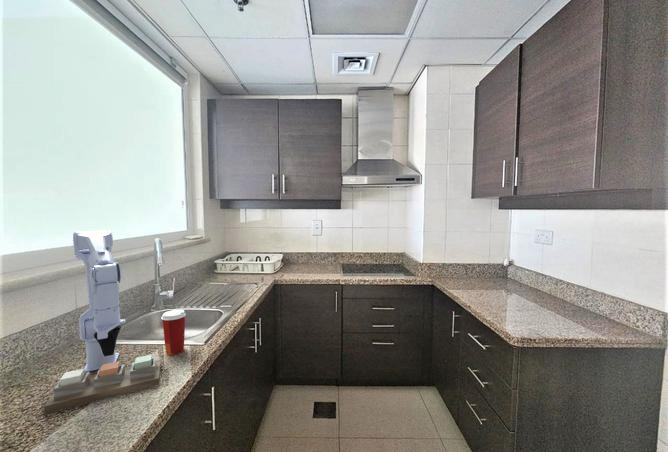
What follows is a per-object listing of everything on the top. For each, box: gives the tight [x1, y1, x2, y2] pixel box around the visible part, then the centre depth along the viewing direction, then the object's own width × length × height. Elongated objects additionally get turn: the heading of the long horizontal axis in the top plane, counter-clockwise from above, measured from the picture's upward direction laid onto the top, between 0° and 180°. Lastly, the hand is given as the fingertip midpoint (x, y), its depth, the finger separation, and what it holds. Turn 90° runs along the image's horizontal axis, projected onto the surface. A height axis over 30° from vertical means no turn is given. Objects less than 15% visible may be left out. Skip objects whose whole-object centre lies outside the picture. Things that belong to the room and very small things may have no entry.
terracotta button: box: [98, 360, 121, 378], centre depth 82 cm, size 4×4×2 cm
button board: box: [43, 357, 162, 415], centre depth 82 cm, size 12×24×4 cm, turn 119°
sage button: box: [134, 354, 153, 370], centre depth 86 cm, size 4×4×2 cm
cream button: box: [59, 368, 85, 386], centre depth 78 cm, size 4×4×2 cm
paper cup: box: [160, 309, 187, 356], centre depth 102 cm, size 8×8×14 cm
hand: (109, 354), depth 82 cm, fingers closed
